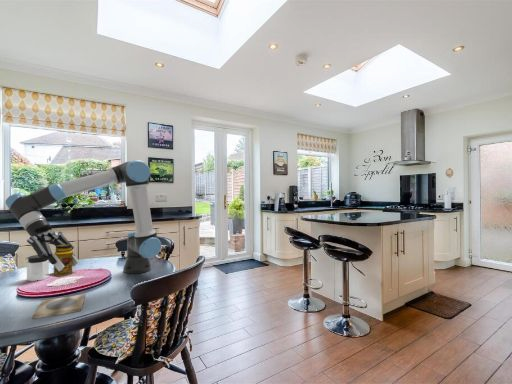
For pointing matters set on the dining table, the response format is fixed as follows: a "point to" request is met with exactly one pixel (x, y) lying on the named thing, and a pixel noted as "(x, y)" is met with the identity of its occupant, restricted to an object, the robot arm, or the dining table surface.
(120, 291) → the dining table surface
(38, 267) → the jar
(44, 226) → the robot arm
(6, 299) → the dining table surface
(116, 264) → the dining table surface
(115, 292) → the dining table surface
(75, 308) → the board
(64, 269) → the condiment
